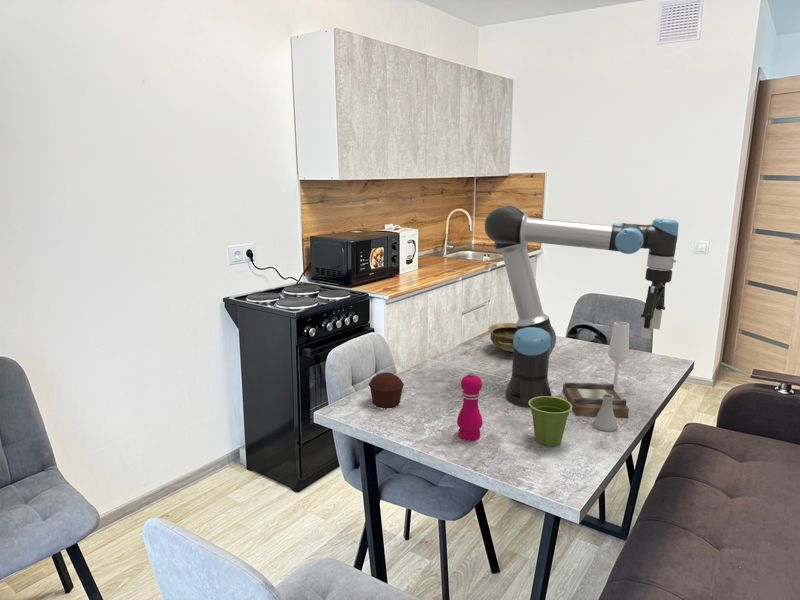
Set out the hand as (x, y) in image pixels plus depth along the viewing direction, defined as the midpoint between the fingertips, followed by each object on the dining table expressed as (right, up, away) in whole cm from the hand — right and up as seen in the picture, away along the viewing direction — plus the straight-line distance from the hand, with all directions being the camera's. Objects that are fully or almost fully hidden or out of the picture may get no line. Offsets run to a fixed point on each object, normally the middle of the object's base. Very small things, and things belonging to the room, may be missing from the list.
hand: (650, 333), depth 181 cm
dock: (-18, -23, +3) cm, 29 cm away
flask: (-20, -27, -14) cm, 37 cm away
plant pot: (-40, -29, -23) cm, 54 cm away
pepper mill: (-62, -29, -21) cm, 71 cm away
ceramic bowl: (-32, -12, +55) cm, 65 cm away
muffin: (-86, -23, +2) cm, 89 cm away
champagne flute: (-6, -21, +16) cm, 27 cm away
